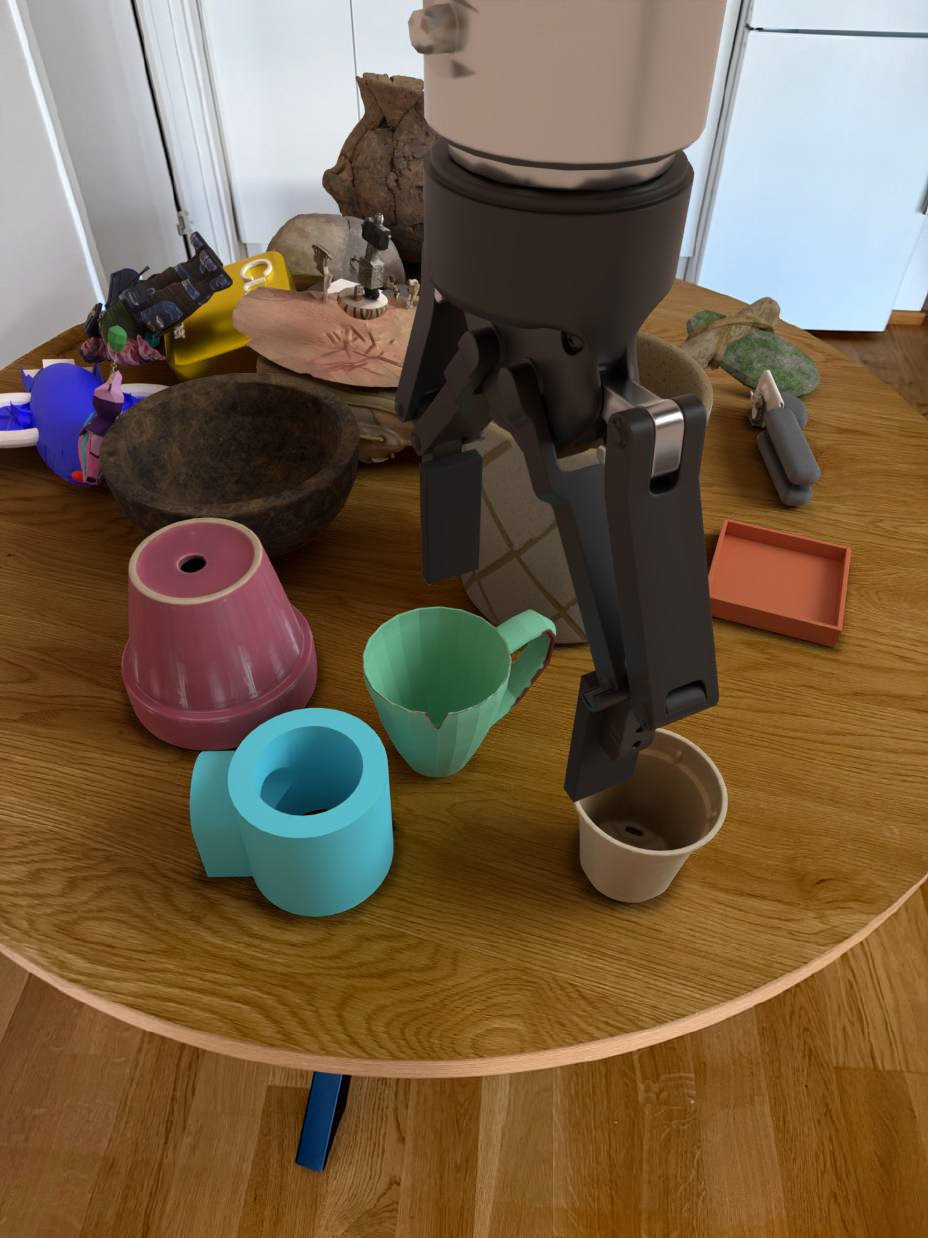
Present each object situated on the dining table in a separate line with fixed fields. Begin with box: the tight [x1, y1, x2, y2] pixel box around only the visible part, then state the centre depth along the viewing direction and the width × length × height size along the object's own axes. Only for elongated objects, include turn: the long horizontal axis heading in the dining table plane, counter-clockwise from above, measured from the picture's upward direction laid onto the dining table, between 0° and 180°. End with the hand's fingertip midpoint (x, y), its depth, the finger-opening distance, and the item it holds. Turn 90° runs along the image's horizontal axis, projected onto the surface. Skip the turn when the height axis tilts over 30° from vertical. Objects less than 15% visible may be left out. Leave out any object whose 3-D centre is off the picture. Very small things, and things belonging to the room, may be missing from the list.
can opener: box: [748, 370, 822, 507], centre depth 93 cm, size 19×6×5 cm, turn 176°
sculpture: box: [233, 213, 421, 387], centre depth 89 cm, size 25×24×16 cm
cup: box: [189, 707, 394, 918], centre depth 57 cm, size 12×10×9 cm
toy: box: [78, 326, 128, 486], centre depth 82 cm, size 16×4×15 cm, turn 10°
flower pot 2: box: [572, 727, 729, 904], centre depth 57 cm, size 9×9×9 cm
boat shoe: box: [256, 355, 414, 464], centre depth 92 cm, size 9×25×8 cm, turn 79°
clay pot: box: [321, 71, 440, 265], centre depth 120 cm, size 25×24×22 cm
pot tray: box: [708, 517, 852, 648], centre depth 79 cm, size 11×11×2 cm
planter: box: [460, 330, 714, 645], centre depth 73 cm, size 19×19×20 cm
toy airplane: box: [0, 358, 170, 487], centre depth 93 cm, size 24×25×5 cm
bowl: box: [99, 373, 360, 560], centre depth 81 cm, size 22×22×10 cm
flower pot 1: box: [120, 518, 318, 751], centre depth 67 cm, size 14×14×13 cm
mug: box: [361, 606, 556, 779], centre depth 64 cm, size 15×10×10 cm
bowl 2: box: [265, 212, 406, 288], centre depth 113 cm, size 18×18×8 cm
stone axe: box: [676, 296, 822, 398], centre depth 104 cm, size 26×5×30 cm
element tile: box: [163, 251, 297, 384], centre depth 103 cm, size 15×15×5 cm
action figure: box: [78, 230, 233, 366], centre depth 98 cm, size 20×7×18 cm
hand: (516, 667), depth 40 cm, fingers open, 13 cm apart
